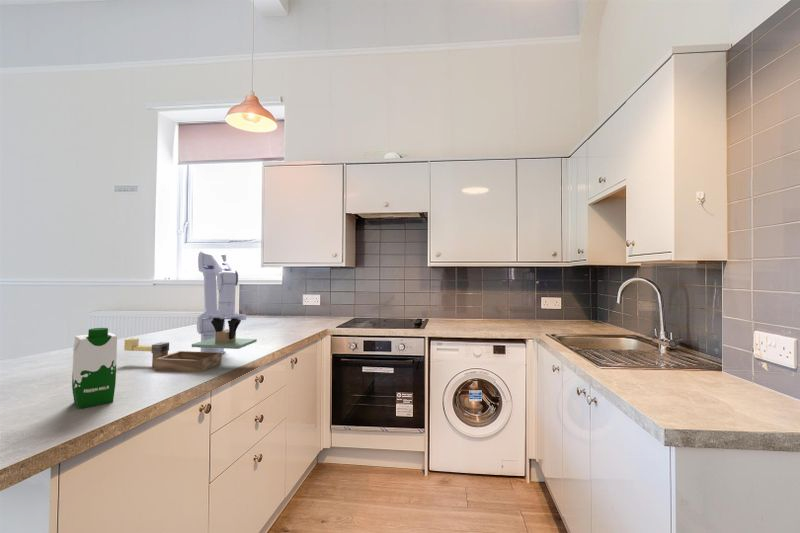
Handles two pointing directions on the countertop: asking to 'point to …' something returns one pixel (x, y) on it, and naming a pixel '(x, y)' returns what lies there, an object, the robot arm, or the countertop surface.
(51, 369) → the countertop surface
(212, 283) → the robot arm
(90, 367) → the milk carton
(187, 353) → the wooden box
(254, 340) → the lid
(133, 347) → the wooden block
